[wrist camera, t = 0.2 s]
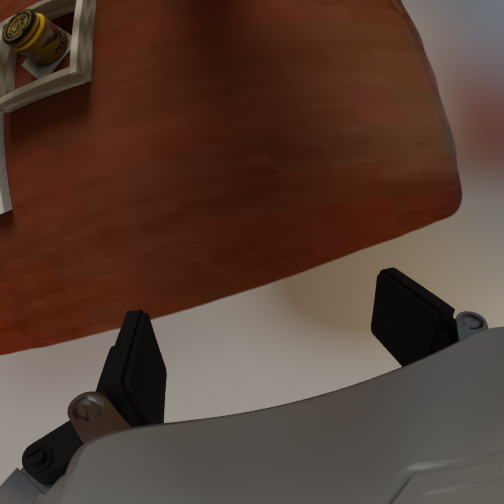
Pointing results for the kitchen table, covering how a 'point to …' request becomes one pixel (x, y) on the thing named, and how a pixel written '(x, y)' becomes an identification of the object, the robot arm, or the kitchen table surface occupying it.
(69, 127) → the kitchen table surface
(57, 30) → the condiment
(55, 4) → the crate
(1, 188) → the tray
